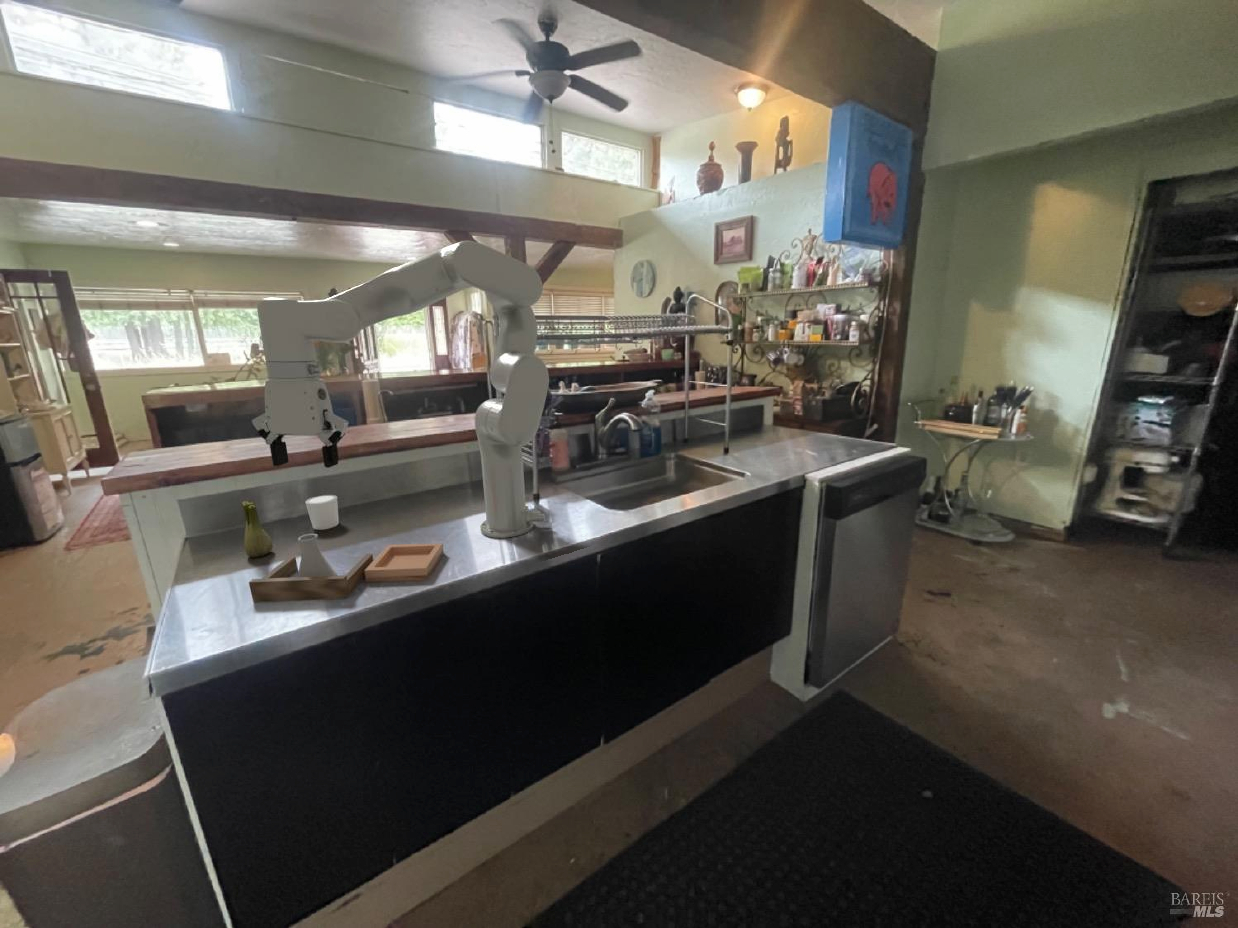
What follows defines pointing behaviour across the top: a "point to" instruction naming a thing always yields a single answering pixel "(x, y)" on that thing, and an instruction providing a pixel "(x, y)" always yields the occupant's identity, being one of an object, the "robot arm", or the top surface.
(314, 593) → the bay
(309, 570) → the flask
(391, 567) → the tray
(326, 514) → the white tapered cylinder
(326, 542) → the top surface
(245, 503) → the fennel bulb
